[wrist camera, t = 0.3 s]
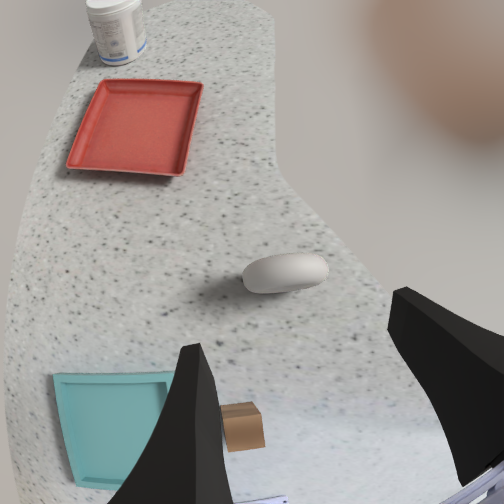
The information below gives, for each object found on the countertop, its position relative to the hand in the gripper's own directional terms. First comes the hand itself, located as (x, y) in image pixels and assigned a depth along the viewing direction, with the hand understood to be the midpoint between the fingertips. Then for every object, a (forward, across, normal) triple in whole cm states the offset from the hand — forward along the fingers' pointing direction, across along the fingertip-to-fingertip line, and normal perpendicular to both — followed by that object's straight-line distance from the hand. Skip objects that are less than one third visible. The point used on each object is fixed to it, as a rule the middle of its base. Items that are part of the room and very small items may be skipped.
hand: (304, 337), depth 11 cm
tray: (+13, +20, +26) cm, 35 cm away
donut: (+26, -4, +17) cm, 31 cm away
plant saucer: (+44, +11, -4) cm, 45 cm away
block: (+14, +5, +28) cm, 31 cm away
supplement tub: (+58, +14, -20) cm, 63 cm away
